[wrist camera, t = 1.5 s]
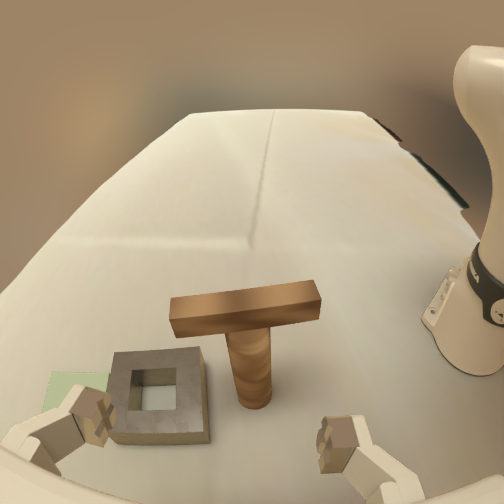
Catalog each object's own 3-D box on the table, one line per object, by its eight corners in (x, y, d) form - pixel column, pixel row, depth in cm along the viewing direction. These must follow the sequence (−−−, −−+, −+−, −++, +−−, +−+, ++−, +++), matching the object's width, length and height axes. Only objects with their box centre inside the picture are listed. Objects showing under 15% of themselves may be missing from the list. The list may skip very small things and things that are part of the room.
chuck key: (300, 373, 36) (310, 273, 27) (307, 400, 33) (324, 306, 23) (204, 386, 35) (171, 291, 26) (205, 414, 32) (168, 326, 23)
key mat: (110, 374, 37) (109, 372, 36) (102, 440, 29) (100, 438, 28) (53, 373, 36) (51, 371, 36) (40, 432, 28) (38, 430, 27)
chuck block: (205, 364, 38) (199, 346, 36) (210, 443, 29) (203, 431, 27) (125, 369, 37) (114, 352, 35) (117, 444, 28) (102, 431, 26)
